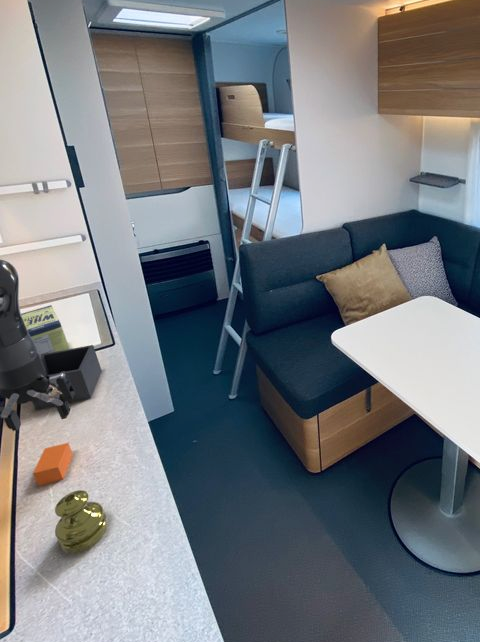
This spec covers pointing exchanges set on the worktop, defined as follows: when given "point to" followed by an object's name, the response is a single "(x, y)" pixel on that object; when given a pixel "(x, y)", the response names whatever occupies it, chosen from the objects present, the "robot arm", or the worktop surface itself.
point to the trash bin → (73, 372)
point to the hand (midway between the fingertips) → (41, 422)
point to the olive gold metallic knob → (79, 522)
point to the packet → (53, 464)
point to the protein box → (45, 330)
